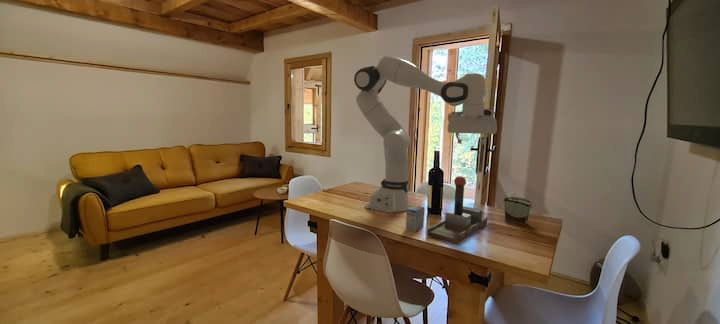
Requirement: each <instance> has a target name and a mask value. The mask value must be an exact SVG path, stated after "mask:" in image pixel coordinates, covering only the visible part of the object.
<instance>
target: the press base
mask: <svg viewBox="0 0 720 324" xmlns="http://www.w3.org/2000/svg"><path fill="white" fill-rule="evenodd" d="M463 213H465V214H469V215H471V226H470V227H469V228H468V229H462V228H458V227H454V226H450V225H446V224H445V219H443V220H442V221H440V222H438V223H436V224H434V225H431V226H430V227H428V228H427V233H426V236H427V237H429V238H432V239H436V240H439V241H443V242H446V243H450V244H453V245H457V246H458V245H460V243H462V242H463V241H465V240H466V239H467V238H470V236H472V235H473V234H476V233H477V232H479V230H481V229H482V228H484V227H485V226H487V225H488V217H484V218H483V210H482V209H479V208H472V207H469V206H464V205H463Z"/></svg>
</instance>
